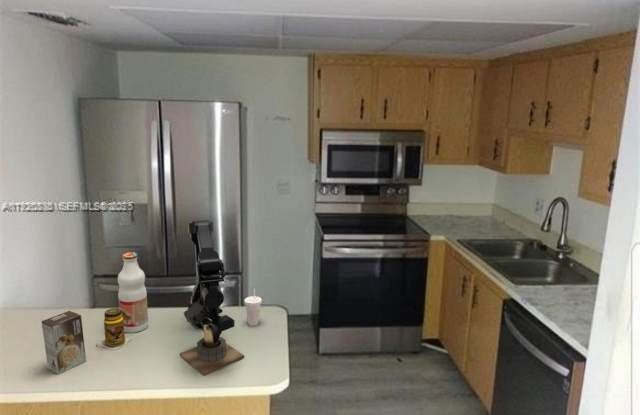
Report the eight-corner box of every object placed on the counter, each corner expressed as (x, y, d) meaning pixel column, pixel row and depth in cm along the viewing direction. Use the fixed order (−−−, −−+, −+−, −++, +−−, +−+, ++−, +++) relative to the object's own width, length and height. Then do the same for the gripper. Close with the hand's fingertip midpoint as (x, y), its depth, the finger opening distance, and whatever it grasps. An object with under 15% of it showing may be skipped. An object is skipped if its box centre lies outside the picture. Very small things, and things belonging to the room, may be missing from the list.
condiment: (116, 350, 158) (113, 317, 156) (95, 345, 161) (92, 313, 158) (131, 339, 165) (128, 308, 162) (111, 335, 168) (108, 304, 165)
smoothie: (258, 328, 175) (258, 293, 172) (242, 326, 177) (241, 291, 173) (264, 320, 182) (264, 286, 178) (248, 318, 183) (247, 284, 179)
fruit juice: (148, 331, 171) (144, 257, 165) (120, 335, 168) (114, 259, 161) (148, 319, 180) (144, 249, 173) (121, 323, 177) (115, 251, 170)
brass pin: (202, 348, 155) (201, 323, 153) (213, 344, 158) (213, 319, 156) (209, 354, 152) (208, 328, 150) (221, 349, 155) (220, 324, 153)
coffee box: (75, 355, 155) (70, 309, 151) (86, 361, 151) (82, 314, 148) (46, 368, 147) (40, 320, 143) (58, 375, 144) (52, 326, 140)
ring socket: (179, 355, 156) (178, 342, 155) (219, 340, 166) (218, 327, 165) (203, 375, 145) (203, 361, 144) (244, 358, 156) (244, 344, 154)
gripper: (172, 292, 152) (174, 336, 155) (203, 312, 139) (204, 360, 142) (203, 283, 159) (204, 326, 163) (235, 301, 146) (235, 347, 150)
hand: (211, 339), depth 154 cm, fingers closed on brass pin, 4 cm apart
